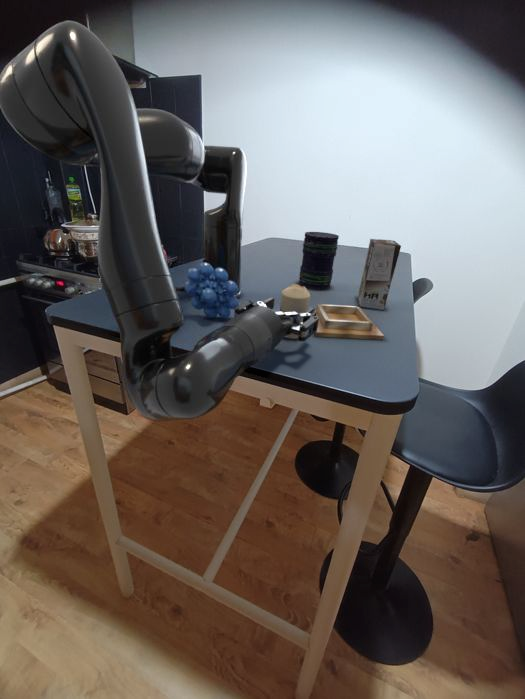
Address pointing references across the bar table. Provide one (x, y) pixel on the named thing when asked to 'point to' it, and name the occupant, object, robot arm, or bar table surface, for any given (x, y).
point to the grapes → (211, 290)
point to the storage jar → (318, 260)
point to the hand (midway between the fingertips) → (292, 307)
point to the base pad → (345, 323)
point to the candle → (295, 302)
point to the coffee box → (378, 273)
